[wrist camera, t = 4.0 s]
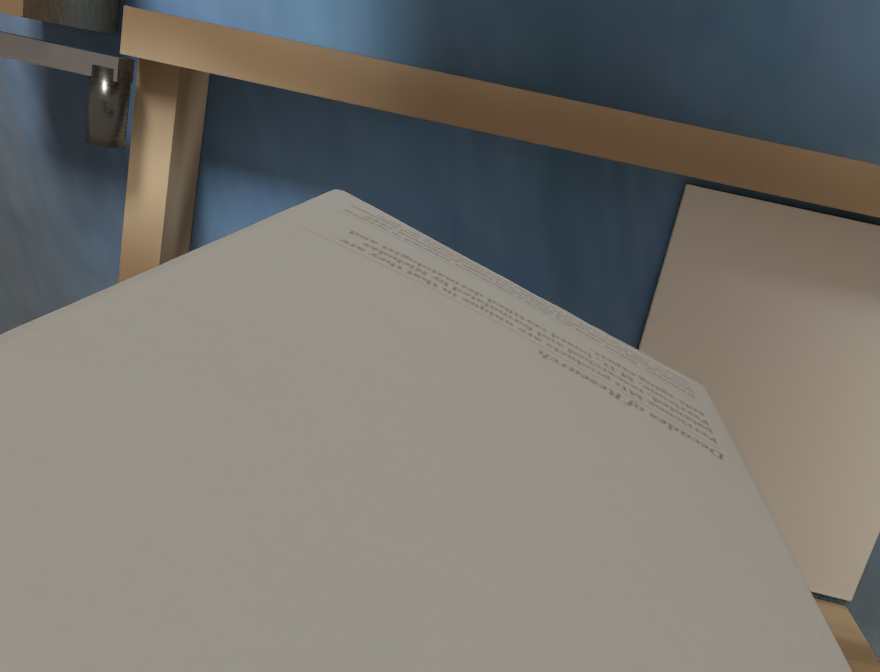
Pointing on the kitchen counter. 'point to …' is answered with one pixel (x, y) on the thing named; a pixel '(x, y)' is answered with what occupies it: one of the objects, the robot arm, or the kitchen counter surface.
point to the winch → (79, 60)
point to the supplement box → (372, 477)
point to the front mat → (784, 363)
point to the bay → (440, 100)
